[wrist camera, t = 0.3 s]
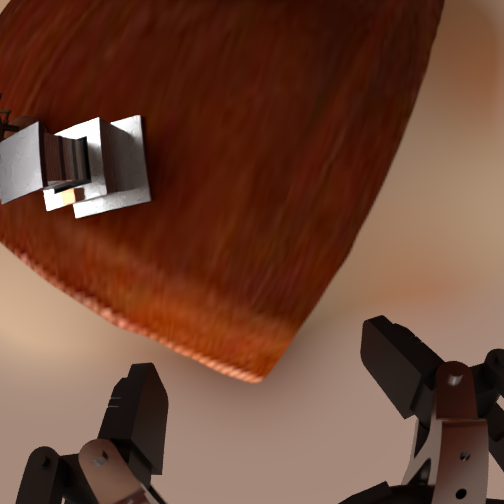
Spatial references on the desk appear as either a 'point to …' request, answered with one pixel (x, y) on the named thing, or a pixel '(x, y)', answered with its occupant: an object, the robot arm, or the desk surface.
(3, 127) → the brown piece
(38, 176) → the column
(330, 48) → the desk surface
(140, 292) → the desk surface
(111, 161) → the stand
